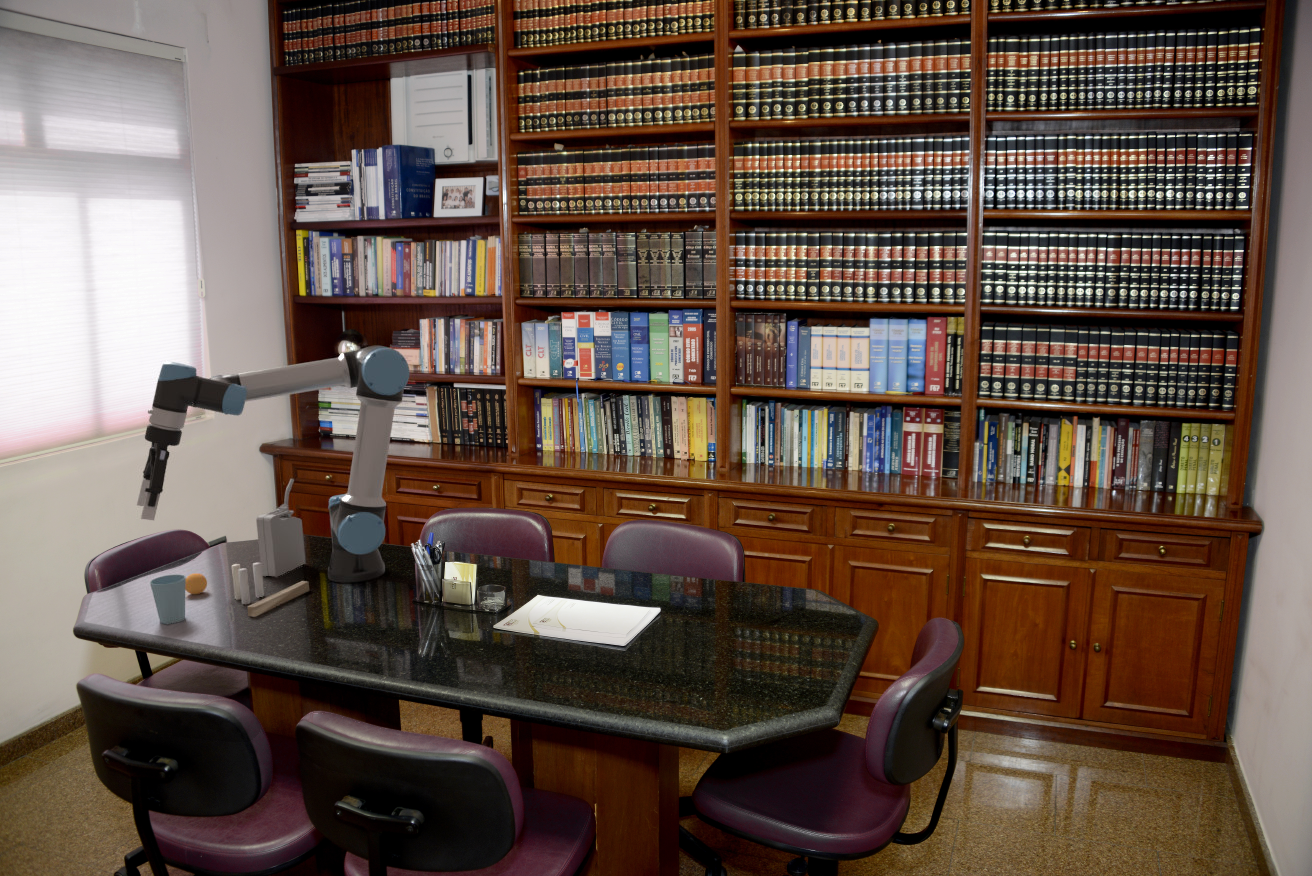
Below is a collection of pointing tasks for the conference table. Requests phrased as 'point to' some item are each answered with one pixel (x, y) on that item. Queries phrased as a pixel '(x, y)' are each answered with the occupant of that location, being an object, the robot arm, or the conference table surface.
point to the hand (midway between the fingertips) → (145, 512)
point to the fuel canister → (280, 539)
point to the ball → (195, 583)
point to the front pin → (236, 581)
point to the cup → (169, 597)
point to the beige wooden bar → (278, 598)
